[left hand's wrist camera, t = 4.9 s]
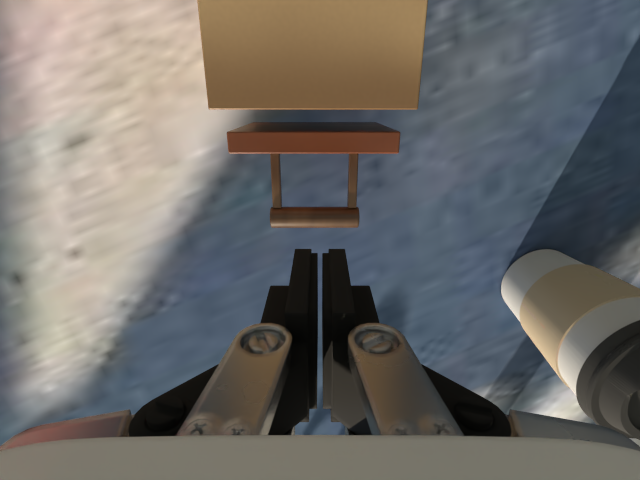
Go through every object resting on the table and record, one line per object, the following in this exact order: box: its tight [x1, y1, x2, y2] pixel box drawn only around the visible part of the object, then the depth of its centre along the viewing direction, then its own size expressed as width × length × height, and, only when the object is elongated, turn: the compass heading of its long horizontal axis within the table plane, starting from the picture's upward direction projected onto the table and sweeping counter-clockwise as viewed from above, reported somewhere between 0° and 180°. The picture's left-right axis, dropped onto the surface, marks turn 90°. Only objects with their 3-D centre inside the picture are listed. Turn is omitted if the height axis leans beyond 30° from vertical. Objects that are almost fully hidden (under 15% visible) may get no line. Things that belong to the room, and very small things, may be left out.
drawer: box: [227, 122, 400, 228], centre depth 23 cm, size 24×10×9 cm, turn 0°
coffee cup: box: [501, 249, 640, 440], centre depth 28 cm, size 9×9×15 cm
